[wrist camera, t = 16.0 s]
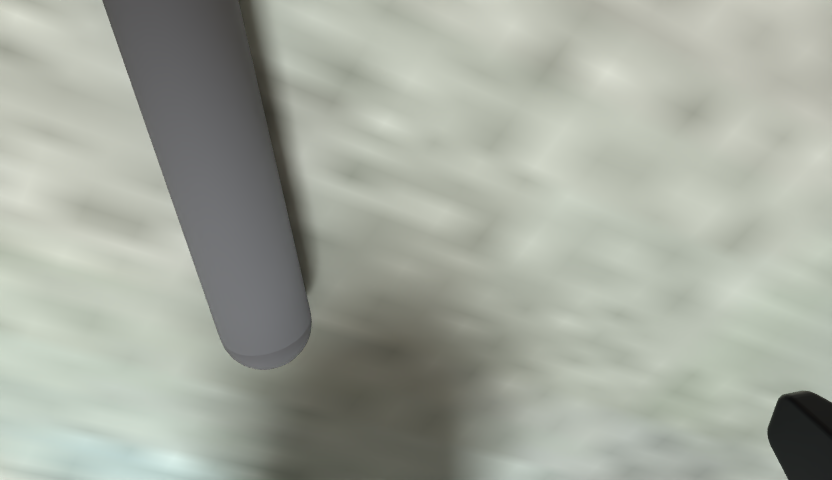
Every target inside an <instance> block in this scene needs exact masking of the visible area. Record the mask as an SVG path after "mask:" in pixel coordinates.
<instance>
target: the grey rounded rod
mask: <svg viewBox="0 0 832 480" xmlns="http://www.w3.org/2000/svg"><path fill="white" fill-rule="evenodd" d="M102 1H103V4H104V7H105V9H106V12H107V15H108V18H109V21H110V24H111V27H112V29H113V32H114V35H115V38H116V41H117V44H118V47H119V50H120V52H121V55H122V58H123V61H124V64H125V67H126V70H127V73H128V75H129V78H130V81H131V84H132V87H133V90H134V93H135V96H136V98H137V101H138V104H139V107H140V110H141V113H142V116H143V119H144V121H145V124H146V127H147V130H148V133H149V136H150V139H151V142H152V144H153V147H154V150H155V153H156V156H157V159H158V162H159V165H160V167H161V170H162V173H163V176H164V179H165V182H166V185H167V188H168V190H169V193H170V196H171V199H172V202H173V205H174V208H175V211H176V213H177V216H178V219H179V222H180V225H181V228H182V231H183V233H184V236H185V239H186V242H187V245H188V248H189V251H190V254H191V256H192V259H193V262H194V265H195V268H196V271H197V274H198V277H199V279H200V282H201V285H202V288H203V291H204V294H205V297H206V300H207V302H208V305H209V308H210V311H211V314H212V317H213V320H214V323H215V325H216V328H217V331H218V334H219V337H220V340H221V342H222V344H223V346H224V348H225V350H226V351H227V352H228V353H229V354H230V356H231V357H232V358H233V359H234V360H236V361H237V362H239V363H241V364H242V365H244V366H247V367H249V368H254V369H260V370H267V369H274V368H277V367H280V366H283V365H285V364H287V363H289V362H290V361H292V360H293V359H294V358H295V357H296V356H297V355H298V354H299V353H300V352H301V351H302V350H303V348H304V347H305V345H306V343H307V341H308V339H309V336H310V332H311V322H312V321H311V313H310V308H309V304H308V300H307V295H306V291H305V287H304V282H303V278H302V274H301V269H300V265H299V261H298V256H297V252H296V247H295V243H294V239H293V234H292V230H291V226H290V221H289V217H288V213H287V208H286V204H285V200H284V195H283V191H282V187H281V182H280V178H279V174H278V169H277V165H276V161H275V156H274V152H273V148H272V143H271V139H270V135H269V130H268V126H267V122H266V117H265V113H264V109H263V104H262V100H261V96H260V91H259V87H258V83H257V78H256V74H255V70H254V65H253V61H252V57H251V52H250V48H249V44H248V39H247V35H246V31H245V26H244V22H243V18H242V13H241V9H240V5H239V0H102Z"/></svg>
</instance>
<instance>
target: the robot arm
mask: <svg viewBox="0 0 832 480" xmlns="http://www.w3.org/2000/svg"><path fill="white" fill-rule="evenodd" d="M767 434H768V439H769V442H770V445H771V447H772V449H773V451H774V453H775V455H776V457H777V459H778V461H779V463H780V464H781V466H782V468H783V470H784V472H785V474H786V476H787V478H788V480H832V402H830V401H828V400H826V399H824V398H823V397H821V396H819V395H817V394H815V393H813V392H810V391H799V392H793V393H788V394H784V395H782V396H781V397H780V398H779V399H778V401H777V404H776V406H775V409H774V412H773V415H772V417H771V420H770V423H769V426H768V432H767Z"/></svg>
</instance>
